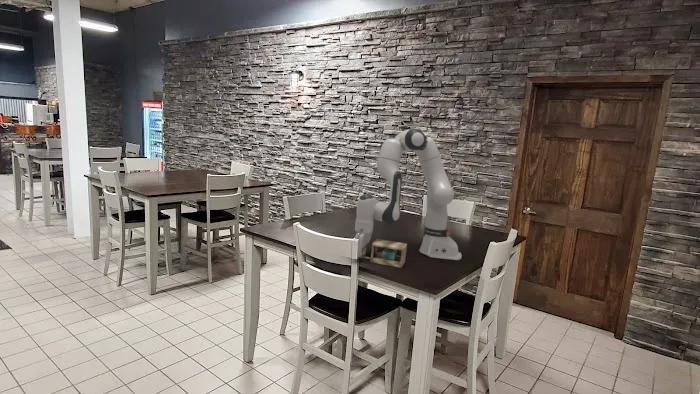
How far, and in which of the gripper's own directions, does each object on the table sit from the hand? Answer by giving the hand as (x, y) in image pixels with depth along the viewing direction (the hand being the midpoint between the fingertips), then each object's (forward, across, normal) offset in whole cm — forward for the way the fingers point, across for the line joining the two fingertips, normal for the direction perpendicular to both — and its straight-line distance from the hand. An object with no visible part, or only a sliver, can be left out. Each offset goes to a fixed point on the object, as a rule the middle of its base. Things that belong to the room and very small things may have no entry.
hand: (361, 254), depth 198 cm
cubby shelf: (+2, 0, -14) cm, 14 cm away
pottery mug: (+2, +13, -12) cm, 17 cm away
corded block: (+2, 0, -8) cm, 8 cm away
